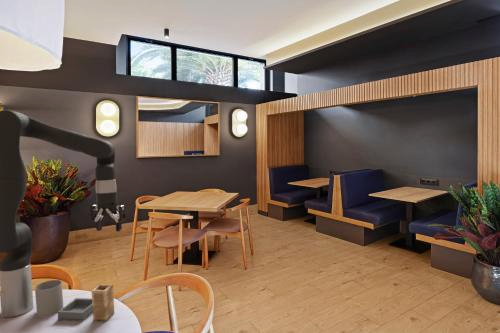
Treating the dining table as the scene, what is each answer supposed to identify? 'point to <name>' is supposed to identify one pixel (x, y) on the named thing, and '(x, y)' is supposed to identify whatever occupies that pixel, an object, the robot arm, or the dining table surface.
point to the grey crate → (76, 310)
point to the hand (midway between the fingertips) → (109, 230)
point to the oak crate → (103, 302)
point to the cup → (49, 297)
